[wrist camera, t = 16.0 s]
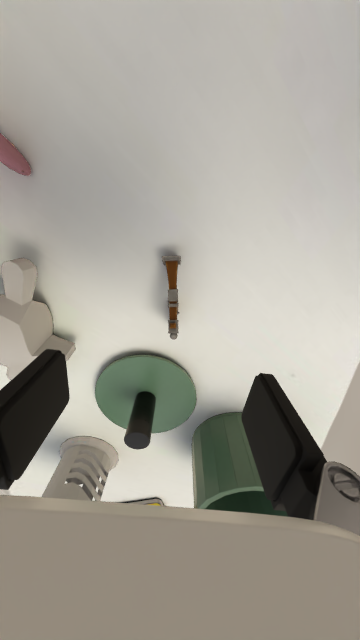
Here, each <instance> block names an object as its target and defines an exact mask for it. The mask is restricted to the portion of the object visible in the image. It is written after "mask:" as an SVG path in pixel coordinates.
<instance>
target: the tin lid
mask: <svg viewBox="0 0 360 640" xmlns="http://www.w3.org/2000/svg"><path fill="white" fill-rule="evenodd" d="M95 397H96V401H97V404H98V406H99V408H100V409H101V411H102V412H103V414H104V415H105V416H106V417H107V418H108V419H109V420H111V421H112V422H113V423H115V424H116V425H118V426H120V427H122V428H124V429H127V430H126V434H125V437H124V442H125V444H126V445H127V446H129V447H130V448H133V449H143V448H146V447H147V446H148V445H149V443H150V438H151V433H161V432H165V431H168V430H171V429H174V428H176V427H178V426H179V425H181V424H182V423H184V422H185V421H186V420H187V419H188V418H189V417H190V415H191V414H192V412H193V410H194V408H195V405H196V390H195V386H194V383H193V381H192V380H191V378H190V376H189V375H188V374H187V373H186V372H185V371H184V370H183V369H182V368H181V367H180V366H178V365H177V364H175V363H173V362H172V361H170V360H167V359H165V358H162V357H158V356H153V355H132V356H127V357H124V358H121V359H119V360H116V361H115V362H113V363H111V364H110V365H109V366H107V367H106V368H105V369H104V371H103V372H102V373H101V375H100V376H99V378H98V381H97V383H96V387H95Z"/></svg>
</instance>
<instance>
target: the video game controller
mask: <svg viewBox="0 0 360 640" xmlns="http://www.w3.org/2000/svg"><path fill="white" fill-rule="evenodd" d="M0 161H1V162H2V163H3V164H4V165H6V166H7V167H8V168H10V169H12V170H14V171H16V172H17V173H19V174H22V175H27V176H29V175H30V174H31V168H30V166H29V164H28V162H27V161H26V159H25V158H24V157H23V155H22V154H21V153H20V152H19V151H18V150H17V149H16V148H15V147H14V146H13V145H12V144H11V142H10V141H9V140H7V139H6V138H5V137H4V136H3V135H2V134H1V133H0Z"/></svg>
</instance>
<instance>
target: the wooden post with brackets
mask: <svg viewBox="0 0 360 640" xmlns="http://www.w3.org/2000/svg"><path fill="white" fill-rule="evenodd" d="M162 261H163V264H164V265H166V267H167V273H168V281H169V290H168V302H169V304H168V307H169V312H170V320H168V323H169V331H168V333H171V334H170V337H171V339H176V338H177V333H178V320H177V314H179V312H178V303H177V302H178V289H177V285H176V283H177V267H178V265H181V264H180V262H181V256H162Z"/></svg>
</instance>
